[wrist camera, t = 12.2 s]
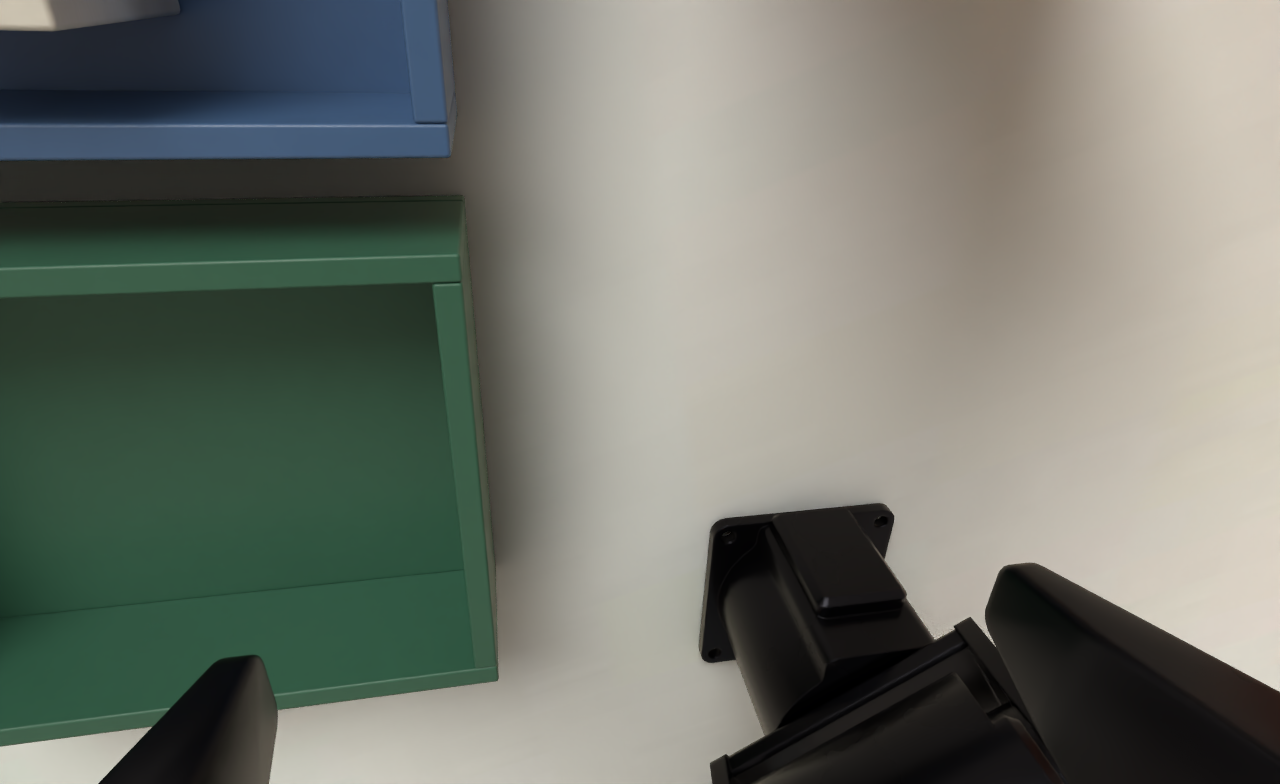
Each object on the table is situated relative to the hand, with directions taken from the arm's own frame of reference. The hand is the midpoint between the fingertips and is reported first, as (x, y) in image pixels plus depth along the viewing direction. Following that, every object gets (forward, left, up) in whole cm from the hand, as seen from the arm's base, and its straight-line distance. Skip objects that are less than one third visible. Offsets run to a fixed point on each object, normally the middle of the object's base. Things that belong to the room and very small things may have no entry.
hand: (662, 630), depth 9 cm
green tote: (-4, +10, -12) cm, 16 cm away
